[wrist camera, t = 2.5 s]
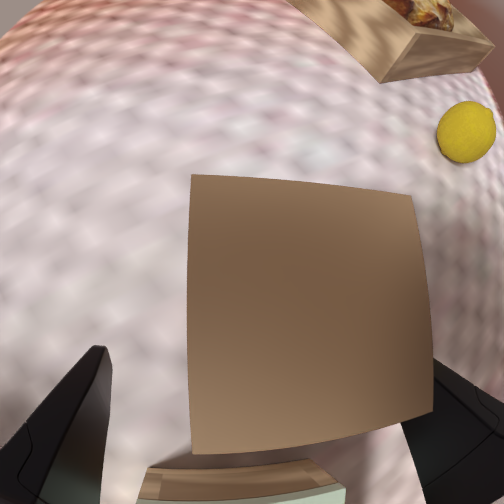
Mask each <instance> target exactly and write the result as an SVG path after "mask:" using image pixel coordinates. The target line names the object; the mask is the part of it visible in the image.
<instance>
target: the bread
mask: <svg viewBox="0 0 504 504" xmlns="http://www.w3.org/2000/svg"><path fill="white" fill-rule="evenodd" d="M382 1H383V2H384V3H386V4H387V5H388V6H390V7H391V8H392V9H393V10H395V11H396V12H397V13H398V14H400V15H401V16H402V17H403V18H404V19H406V20H407V21H408V22H409V23H410V24H411V25H413V26H418V27H425V28H432V29H438V30H443V31H449V32H452V30H453V28H454V20H453V14H452V7H451V3H450V1H449V0H382Z"/></svg>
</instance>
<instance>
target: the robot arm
mask: <svg viewBox="0 0 504 504" xmlns="http://www.w3.org/2000/svg"><path fill="white" fill-rule="evenodd" d="M111 385H112V363H111V359H110V356H109V352H108V349H107V347H106V346H100V345H93V346H92V347H91V348H90V349H89V350H88V351H87V352H86V353H85V354H84V355H83V356H82V358H81V359H80V360H79V361H78V362H77V363H76V364H75V365H74V366H73V367H72V369H71V370H70V371H69V372H68V373H67V374H66V375H65V376H64V377H63V379H62V380H61V381H60V382H59V383H58V384H57V385H56V387H55V388H54V389H53V390H52V391H51V392H50V393H49V394H48V396H47V397H46V398H45V399H44V400H43V401H42V403H41V404H40V405H39V406H38V407H37V408H36V410H35V411H34V412H33V413H32V414H31V415H30V417H29V418H28V419H27V420H26V422H25V423H24V424H23V425H22V426H21V427H20V428H19V430H18V431H17V432H16V433H15V434H14V435H13V437H12V438H11V439H10V440H9V441H8V442H7V443H6V444H5V445H4V446H3V447H2V448H1V449H0V504H100V492H101V481H102V471H103V462H104V454H105V446H106V438H107V432H108V425H109V418H110V402H111ZM400 423H401V426H402V429H403V432H404V434H405V437H406V440H407V443H408V446H409V449H410V452H411V455H412V458H413V461H414V464H415V467H416V470H417V474H418V477H419V480H420V483H421V487H422V488H423V489H422V490H423V494H424V497H425V501H426V504H504V403H502V402H500V401H499V400H497V399H495V398H494V397H492V396H490V395H489V394H487V393H486V392H484V391H482V390H481V389H479V388H478V387H477V386H474V385H473V384H472V383H470V382H469V381H468V380H466V379H465V378H463V377H462V376H460V375H459V374H457V373H456V372H454V371H453V370H451V369H450V368H448V367H447V366H445V365H443V364H442V363H440V362H439V361H437V360H436V359H434V358H433V411H432V412H429V413H427V414H424V415H421V416H418V417H415V418H412V419H409V420H406V421H403V422H400Z"/></svg>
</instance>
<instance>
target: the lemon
mask: <svg viewBox="0 0 504 504" xmlns="http://www.w3.org/2000/svg"><path fill="white" fill-rule="evenodd" d="M495 138H496V125H495V121H494V118H493V112H492V111H491V110H490V109H489V108H485V107H484V106H483V105H481V104H479V103H476V102H473V101H464V102H461V103H458V104H456V105H454V106H453V107H451V108H450V109H449V110H448V111H447V112H446V113H445V114H444V115H443V116H442V118H441V119H440V121H439V124H438V128H437V139H438V143H439V145H440V148H441V152H442V154H443V155H446V156H447V157H449V158H450V159H452V160H453V161H456V162H459V163H470V162H474V161H476V160H478V159H480V158H481V157H483V156H484V155H485V154H486V153H487V152H488V150H489V149H490V148H491V146H492V145H493V143H494V141H495Z"/></svg>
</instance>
